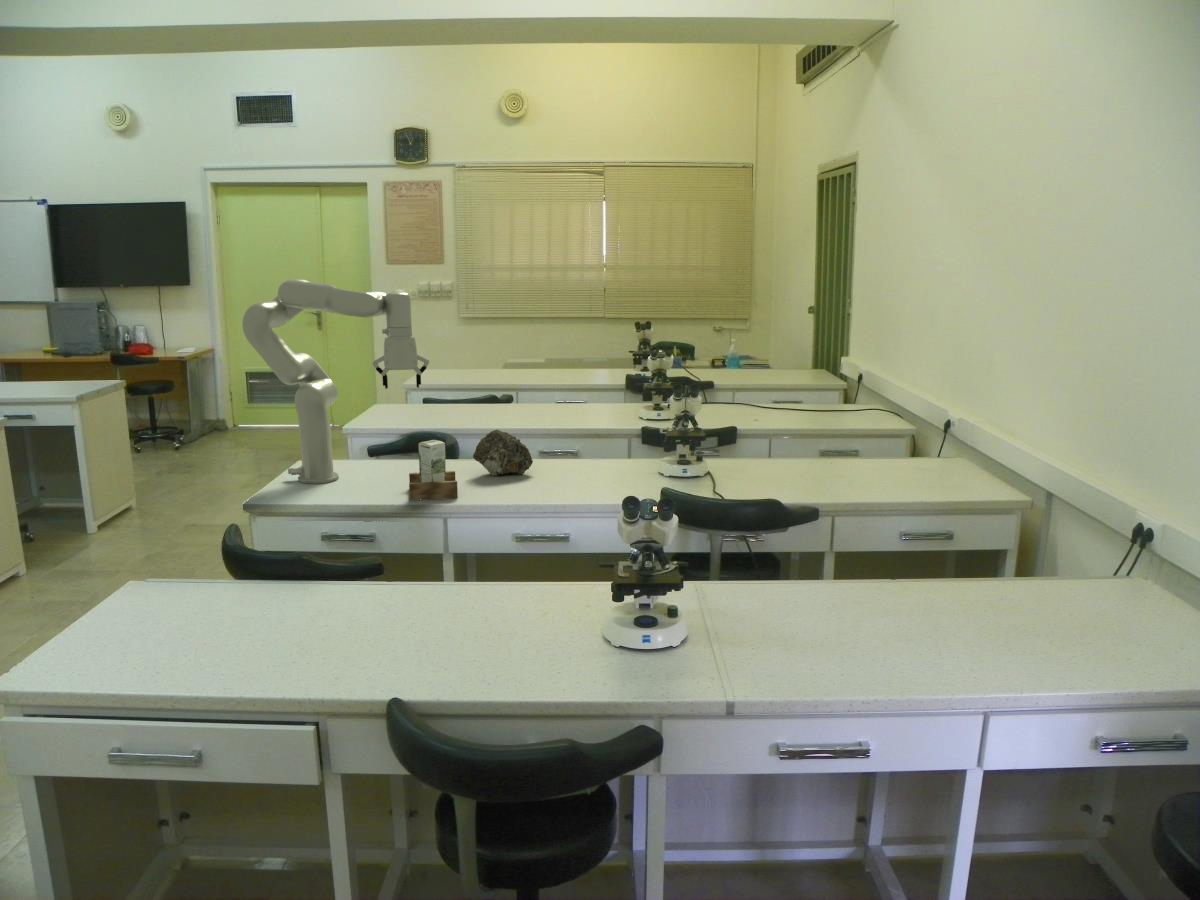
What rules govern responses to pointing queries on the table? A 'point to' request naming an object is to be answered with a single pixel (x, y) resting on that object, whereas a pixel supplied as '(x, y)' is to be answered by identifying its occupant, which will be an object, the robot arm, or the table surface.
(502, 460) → the rock
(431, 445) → the syrup box
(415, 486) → the walnut rack
